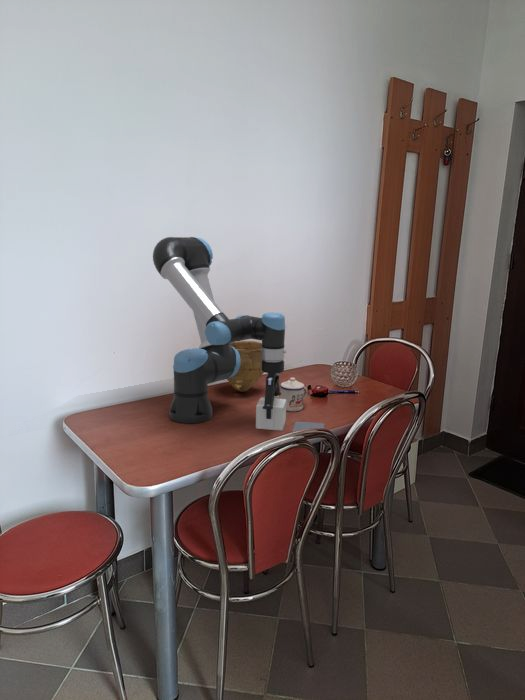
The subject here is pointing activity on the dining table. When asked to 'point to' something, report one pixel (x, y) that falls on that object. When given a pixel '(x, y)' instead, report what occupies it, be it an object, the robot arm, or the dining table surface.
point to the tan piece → (247, 365)
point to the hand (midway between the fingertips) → (271, 420)
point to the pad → (306, 425)
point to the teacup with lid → (293, 394)
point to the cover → (278, 414)
